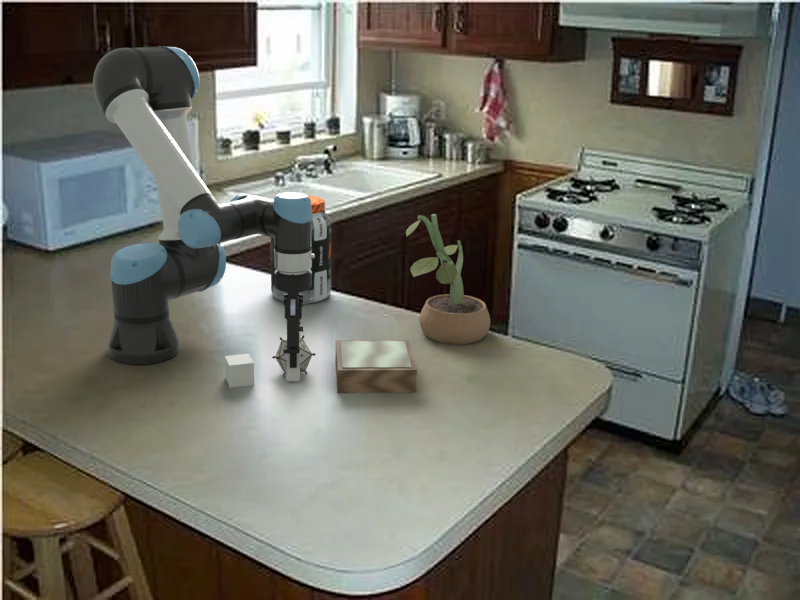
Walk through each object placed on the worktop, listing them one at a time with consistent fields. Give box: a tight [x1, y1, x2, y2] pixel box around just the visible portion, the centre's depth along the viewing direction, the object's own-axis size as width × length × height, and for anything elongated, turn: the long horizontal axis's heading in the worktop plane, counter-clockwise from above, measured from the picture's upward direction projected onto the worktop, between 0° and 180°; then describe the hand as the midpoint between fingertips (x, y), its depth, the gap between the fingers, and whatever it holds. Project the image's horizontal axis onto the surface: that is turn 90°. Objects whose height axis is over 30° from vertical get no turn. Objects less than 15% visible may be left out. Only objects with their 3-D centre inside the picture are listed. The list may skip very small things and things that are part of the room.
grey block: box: [224, 353, 255, 389], centre depth 186 cm, size 5×5×5 cm
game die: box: [271, 334, 317, 378], centre depth 190 cm, size 9×8×10 cm
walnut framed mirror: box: [335, 339, 418, 394], centre depth 190 cm, size 16×16×5 cm
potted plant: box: [405, 213, 491, 345], centre depth 211 cm, size 22×18×30 cm
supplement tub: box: [269, 194, 332, 305], centre depth 234 cm, size 16×16×26 cm
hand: (293, 370), depth 191 cm, fingers closed on game die, 9 cm apart
